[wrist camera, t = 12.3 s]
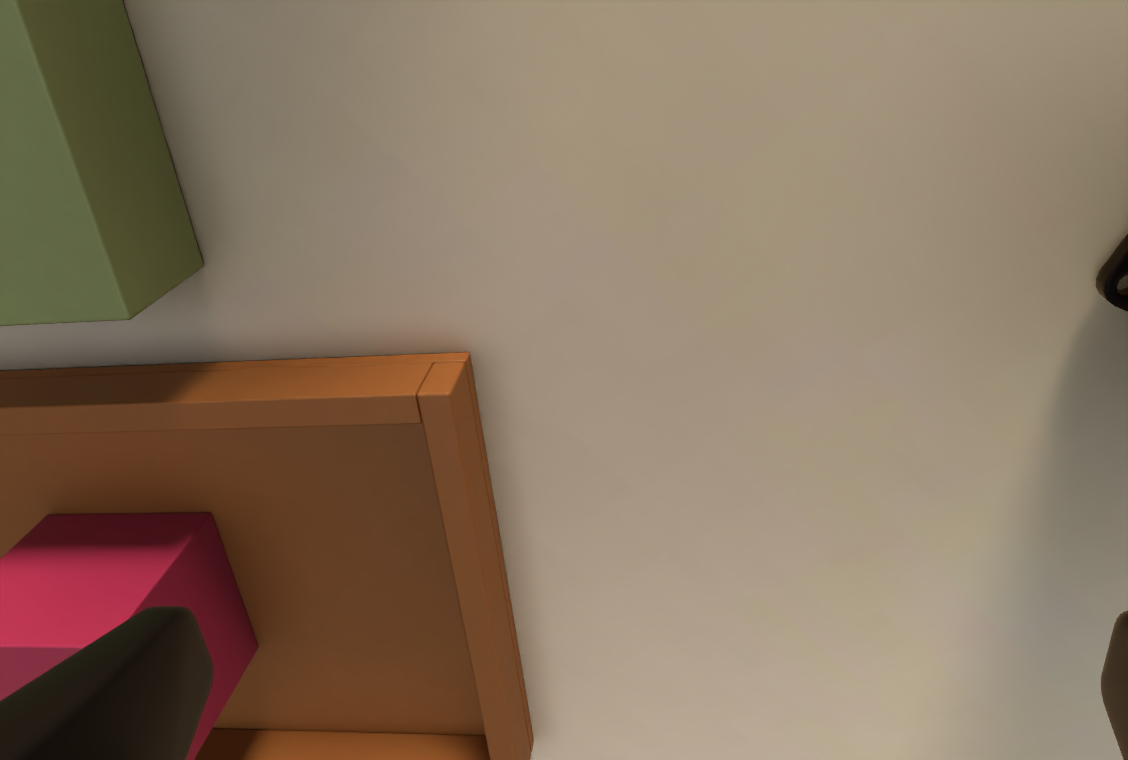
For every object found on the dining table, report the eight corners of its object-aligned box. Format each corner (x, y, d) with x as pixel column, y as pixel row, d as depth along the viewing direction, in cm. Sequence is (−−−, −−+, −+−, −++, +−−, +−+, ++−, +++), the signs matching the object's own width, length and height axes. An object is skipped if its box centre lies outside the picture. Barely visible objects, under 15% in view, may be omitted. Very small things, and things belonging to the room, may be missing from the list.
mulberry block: (212, 511, 23) (105, 647, 19) (259, 647, 26) (174, 796, 21) (47, 513, 24) (-93, 644, 20) (107, 645, 26) (-6, 789, 22)
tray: (470, 351, 21) (450, 392, 19) (534, 740, 27) (523, 800, 25) (-254, 380, 24) (-332, 418, 22) (-46, 724, 30) (-93, 776, 28)
